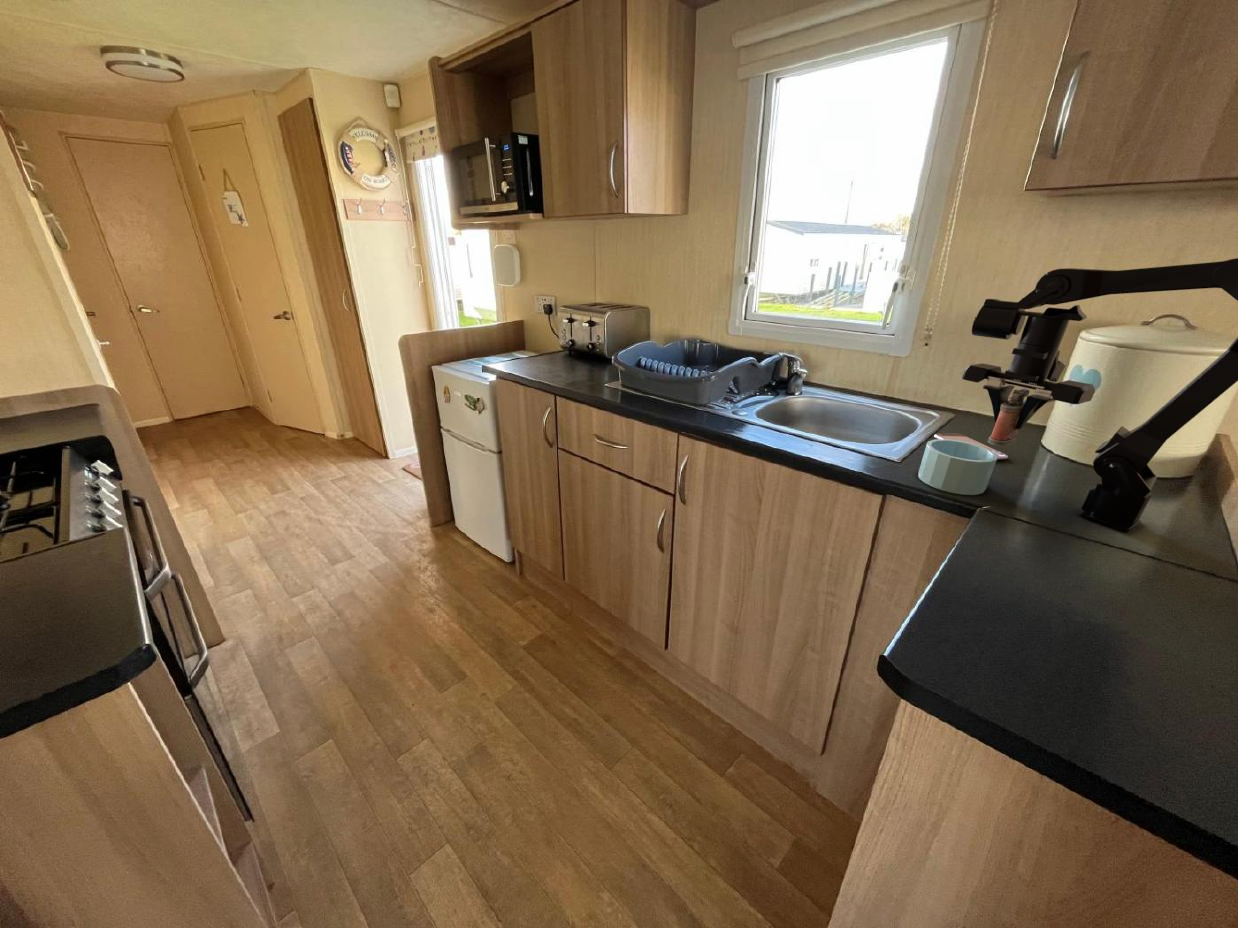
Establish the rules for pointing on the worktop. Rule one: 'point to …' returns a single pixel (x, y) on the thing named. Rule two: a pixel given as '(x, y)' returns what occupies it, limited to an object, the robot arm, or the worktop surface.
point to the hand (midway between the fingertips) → (1007, 426)
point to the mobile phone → (966, 439)
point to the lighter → (1008, 419)
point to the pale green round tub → (957, 466)
